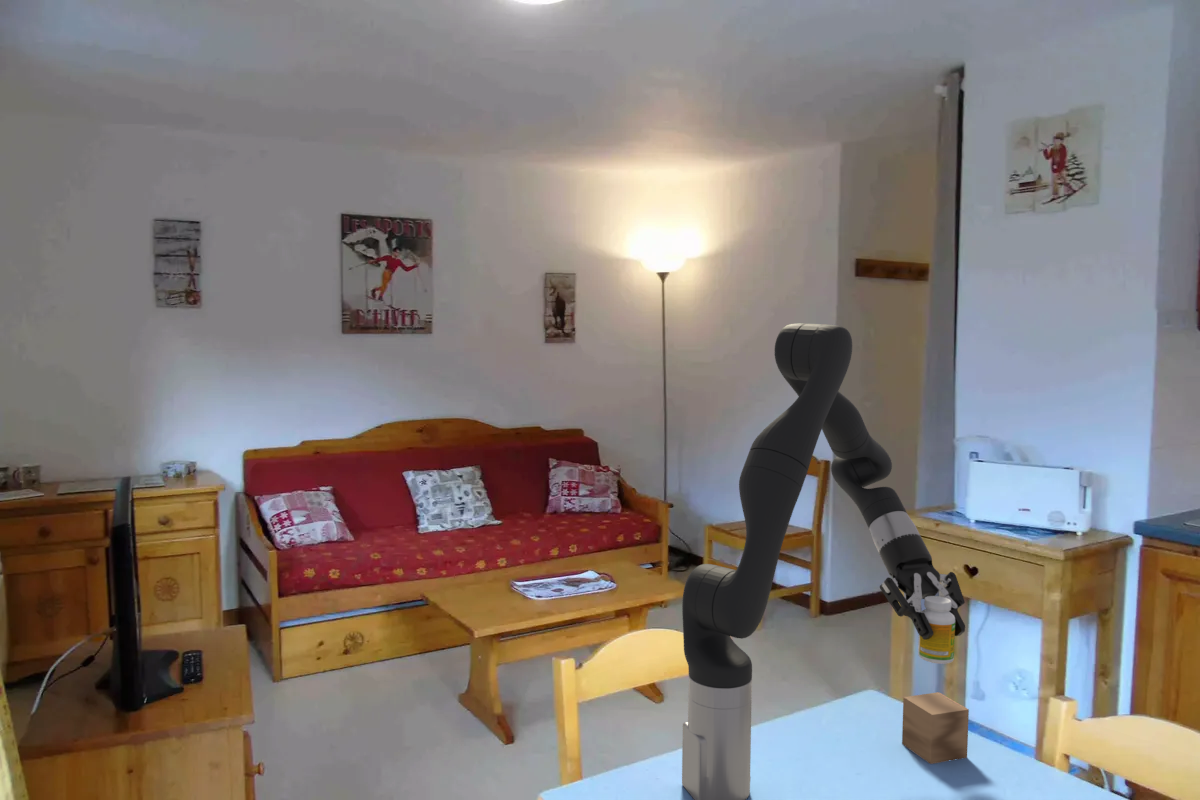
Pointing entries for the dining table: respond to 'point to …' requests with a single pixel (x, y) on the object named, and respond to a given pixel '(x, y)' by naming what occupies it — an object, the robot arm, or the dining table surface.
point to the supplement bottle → (938, 631)
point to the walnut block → (935, 727)
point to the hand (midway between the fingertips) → (944, 635)
